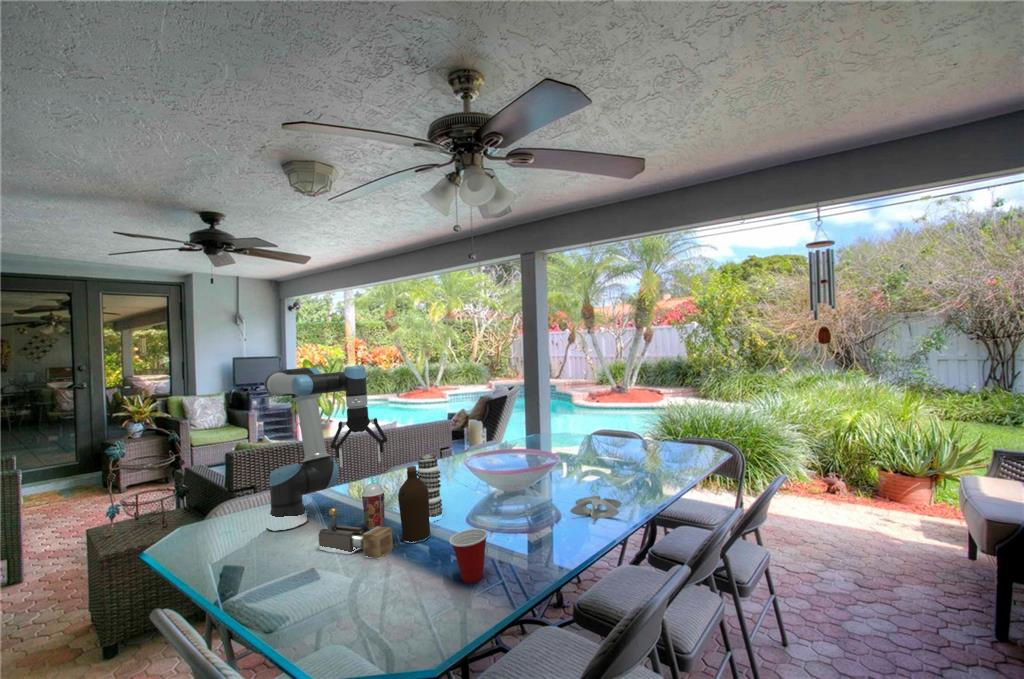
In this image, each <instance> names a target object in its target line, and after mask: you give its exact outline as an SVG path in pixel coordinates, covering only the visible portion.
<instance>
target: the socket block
mask: <svg viewBox="0 0 1024 679" xmlns="http://www.w3.org/2000/svg"><path fill="white" fill-rule="evenodd" d="M392 529H393V528H392V527H389V526H383V527H381V526H377V527H375V528H373V529H371V530H369V531H368V530H367V531H366V532H363V533H364V534H363V546H364V548H363V555H364V556H368V557H372V558H380V557H382V556H383V555H385V554H386V553H388V552H389V551H391V550H392V549H393V550H394V544H393V542H394V541H393V531H392ZM391 552H392V551H391ZM388 554H389V553H388ZM386 555H387V554H386ZM386 555H385V556H386ZM364 556H363V557H364ZM383 557H384V556H383ZM383 557H382V558H383ZM372 558H371V559H372ZM380 559H381V558H380Z"/></svg>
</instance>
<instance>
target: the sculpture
mask: <svg viewBox="0 0 1024 679" xmlns="http://www.w3.org/2000/svg"><path fill="white" fill-rule="evenodd" d="M574 503H575V505H574V506H573V507H572V508H570V510H569V511H570V513H571V514H573V515H576V516H582V517H591V519H592V520H598V519H605V518H612V517H615V516H618V515H619V514H620V511H619V508H620V507H621V506H622V504H623V503H622V502H621V501H620V500H618V499H614V498H606V497H603V498H601V497H600V496H599V495H592V496H587V497H582V498H579V499H577V500H575V502H574ZM588 505H591V508H589V507H587V506H588ZM601 506H604V507H605V508H606V509H603V510H602V509H601Z"/></svg>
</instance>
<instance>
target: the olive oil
mask: <svg viewBox="0 0 1024 679" xmlns="http://www.w3.org/2000/svg"><path fill="white" fill-rule="evenodd" d="M406 470H407V471H406V475H407V476H406V478H407V479H406V480H404V482H403V484H402V485H401V486H400V488H399V489H398V495H397V500H398V506H399V507H398V508H399V516H400V524H401V535H402V541H403V540H405V541H409V542H413V541H414V542H415V541H419V540H423V539H425V538H427V537H428V536H429V535H430V536H431V527H430V526H431V525H430V524H431V523H430V521H429V491H428V488H427V486H426V485H425V484H424V483H423V482H422V481H421V480H420V479H419V478H418V476H417V472H418V470H417V466H416V465H410V466H407V467H406Z"/></svg>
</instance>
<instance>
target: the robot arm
mask: <svg viewBox="0 0 1024 679" xmlns="http://www.w3.org/2000/svg"><path fill="white" fill-rule="evenodd" d="M263 386H264V390H265V391H266V392H267V393H268V394H269V395H272V396H275V397H290V396H291V400H292V402H294V403H295V404H296V408H297V409H296V410H297V415H298V419H299V421H298V422H299V426H300V435H301V439H302V448H303V452H304V458H303V460H302V461H301V463H302V465H301V464H299V463H291V464H287V465H283V466H280V467H278V468H276V469H274V470H273V471H271V472H270V474H269V482H268V485H269V493H270V494H269V495H270V496H269V498H270V512H269V515H270V514H271V515H272V516H275V517H284V516H298V515H302V514H304V513H305V510H306V507H305V505H304V501H303V496H305V495H306V494H310V493H311V494H312V493H313V492H314V493H315V492H319V491H323V490H327V489H328V488H329V489H330V488H332V487H333V486H335V484H336V483H337V480H338V477H339V468H343V466H344V463H343V448H342V445H343V444H344V442H345V441H346V440H347V438H348V437H349V435H350V434H351V433H354V434H356V433H358V432H359V433H364V432H367V433H368V434H369V435H370V436H371V437H372V438H373V439H374V440H375V441H376V442H377V460H378V461H377V462H378V463H381V462H382V460H381V459H382V458H381V453H384V443H387V442H388V437H387V436H386V434H385V432H384V431H383V430H382V428H381V426H380V424H379V422H378V418H377V417H374V418H370V417H369V407H368V406H367V405H368V393H367V392H368V390H367V373H366V368H365V366H364V365H352V366H349V365H348V366H345V367H344V371H335V372H325V373H321V371H319V369H317V368H315V367H299V368H290V369H287V368H286V369H279V370H276V371H273V372H271V373H269V375H267V376H266V377H265V379H264V382H263ZM339 392H345V402H346V403H345V404H346V408H347V409H346V418H347V419H346V421H342V420H341V421H339V422H338V425H337V426H338V427H337V431H336V433H335V434H334V437H333V439H332V441H331V443H330V446H329V447H330V448H331V449H334V450H335V457H336V459H339V465H338V463H337V461H336V459H333V458H332V456H331V455H330V454H329V453H328V452H327V450H326V444H325V437H324V432H323V431H324V430H323V426H322V420H321V419H322V418H321V413H320V407H319V401H318V399H319V398H320V397H321V394H330V393H339ZM370 423H371V424H372V425H374V427H375V429H376V430H377V432H378V433H379V435H380V436H381V438H380V437H379V435H377V434H376V433H375V432H374V431H373V430H372V429H371V428H370V427H369V425H370ZM345 426H346V427H347V428H348V429H347V431H346V433H345V434H344V436H343V437H341V439H340V440H339V442H338V443H337V441H338V438H339V437H340V434H341V431H342V429H343V428H345ZM306 511H307V510H306Z"/></svg>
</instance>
